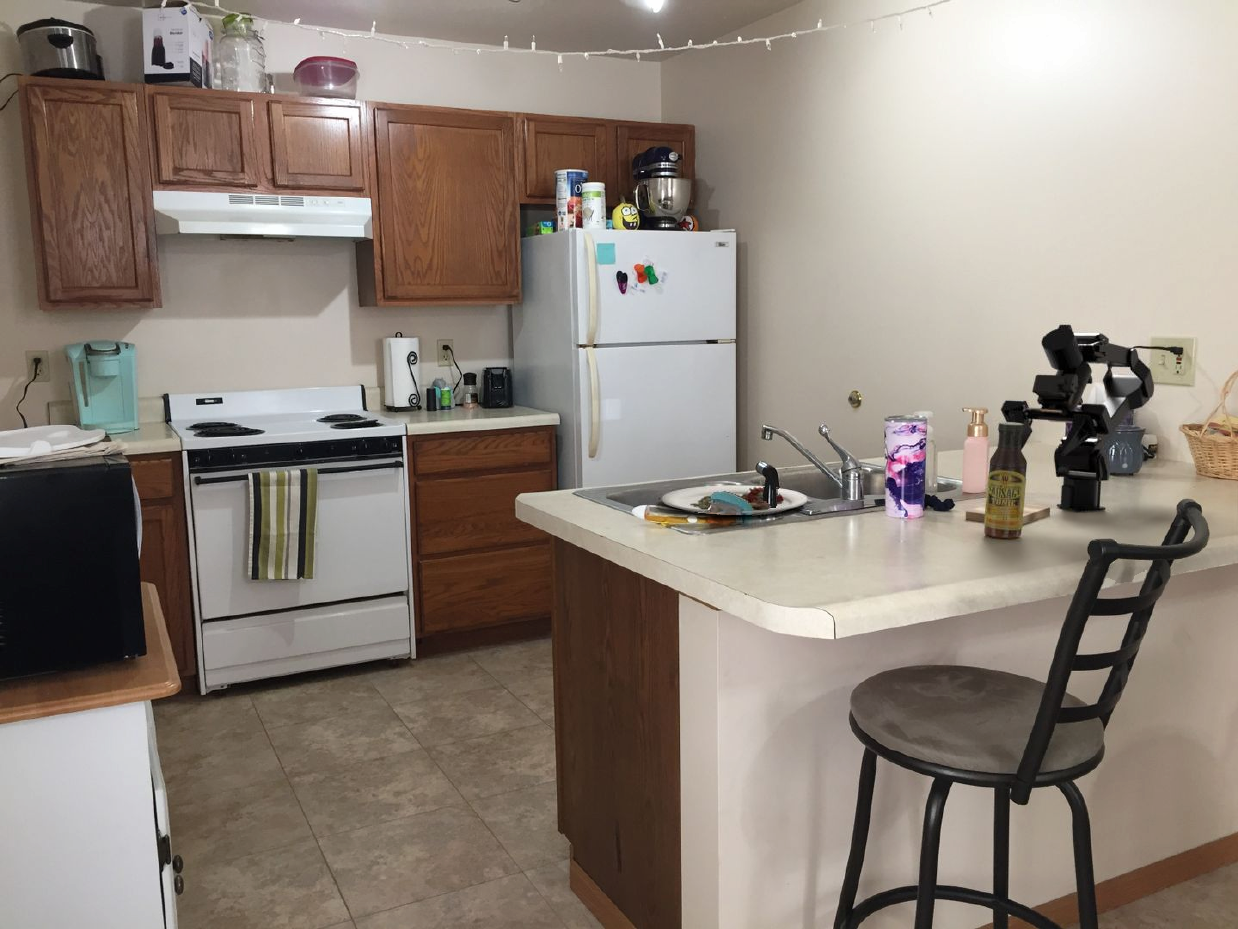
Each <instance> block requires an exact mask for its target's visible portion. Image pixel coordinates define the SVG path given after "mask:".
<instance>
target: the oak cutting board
mask: <svg viewBox="0 0 1238 929" xmlns="http://www.w3.org/2000/svg"><path fill="white" fill-rule="evenodd" d="M985 507H986V504H985V505H982V506H979V507H976V508H972V509H969V510H966V511H965V519H966V520H969V521H977V522H983V523H984V520H985ZM1048 516H1051V507H1050V506H1043V505H1035V504H1025V503H1024V511H1023V524H1022V525H1025V524H1028V523H1031V522H1034V521H1037V520H1039V519H1043V518H1045V517H1048Z"/></svg>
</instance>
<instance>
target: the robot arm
mask: <svg viewBox="0 0 1238 929" xmlns="http://www.w3.org/2000/svg"><path fill="white" fill-rule="evenodd" d="M1041 346H1042V348H1043V352H1044V353H1045V355H1046V358H1047V360H1048V362H1049V364H1050V367H1051V368H1052V369H1054V370H1057V371H1056V373H1055V374H1036V375H1035V377H1034V382H1033V387H1032V392H1031V393H1032V394H1035V395H1037V396H1038V397H1037V399H1036V401H1037V404H1038V405H1041V407H1030V406H1029V403H1028V402H1027V400H1019V399H1018V400H1017V399H1007V400H1005V401H1004V402H1003V403H1002V406H1001V408H1000V411H1001V414H1002V415H1003V417H1004V419H1005V422H1014V423H1021V424H1024V431H1023V433H1022V441H1021V446H1022V448H1021V451H1022V450H1023V448H1024V447H1025V445H1026V444H1027V442H1028V440H1029V438H1030V437H1031V434H1032V433H1033V429H1032V424H1033V422H1034V421H1033V420H1041V421H1048V422H1051V423H1064V424H1065V423H1067V424H1069V423H1070V424H1071V428H1069V430H1068V431H1067V432H1066V433H1065V435H1064V436H1063V437H1062V438H1061V439H1060V443H1059V445H1058V446H1057V447H1056V448H1055V450H1054V453H1053V462H1054V469H1055V470H1054V471H1055V476H1056V478H1063V481H1062V483H1063V484H1062V485H1061V492H1060V493H1061V494H1060V503H1057V504H1056V508H1061V509H1064V510H1065V509H1066V510H1068V511H1073V512H1076V513H1080V512H1081V513H1082V512H1083V513H1085V512H1095V511H1106V508H1107V507H1105V506H1101V491H1102V490H1101V488H1102V482H1103V481H1109V480H1110V476H1111V470H1112V468H1111V466H1110V462H1109V461H1108V458H1107V456H1106V453H1105V448H1104V447H1105V445H1106V444H1107V442H1108V441H1109V440H1110V438H1111V437H1112V435H1113V434H1114V433H1115V432H1116V430H1117V429H1118V427H1119V425H1121V423H1122V422H1123V420H1125V417H1126V416H1127V415H1128V413H1129V412H1131V411H1135V410H1137V409H1140V408H1143V407H1144V406H1145V405H1146V404H1147V403H1148V402H1149V401H1150V400H1151V398H1152V397H1153V395H1154V392H1155V384H1154V379H1153V376H1152V375H1153V374H1152V372H1151V369H1150V368H1149V367H1148V366H1147V365H1146V363H1144V362H1143V361H1142V360H1141V359H1140V358H1139V352H1138V350H1137V349H1136V348H1133V347H1127V346H1122V345H1119V344H1115V343H1111V342H1110V339H1109V337H1108V336H1106V335H1105V334H1103V333H1098V332H1096V333H1088V332H1087V333H1085V332H1084V333H1082V332H1081V333H1074V331H1073V328H1072V325H1071V324H1070V323H1069V324H1059V325H1058V328H1056V329H1052V330H1051V331H1049V332H1047V333H1046V334H1045V335H1044V336H1042V338H1041ZM1091 364H1094V365H1095V364H1103V365H1106V366H1107V370H1106V373H1105V374H1104V376H1103V378H1102V382H1103V386H1104V391H1105V394H1106V398H1105V400H1104V401H1103V402H1102V403H1084V399H1083V398H1082V396H1083V394H1084V391H1085V389H1086V386H1087V385H1089V384H1090V385H1092V384H1093V377H1092V373H1093V370H1092V367H1091V366H1090V365H1091ZM1112 368H1129V369H1130V371H1131V372H1132V373H1133V374H1113V371H1112ZM1078 406H1080V411H1078V410H1077V408H1078ZM1076 410H1077V411H1076Z"/></svg>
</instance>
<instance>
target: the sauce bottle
mask: <svg viewBox="0 0 1238 929" xmlns="http://www.w3.org/2000/svg"><path fill="white" fill-rule="evenodd" d="M997 430H998V443H997V448H996V449H995V451H994V453H993V455H992V456H991V458H990V459H989V469H988V470H989V471H988V475H987V484H986V497H985V505H986V507H985V520H984V522H983V524H984V528H983V532H984V534H985V535H986V536H988V537H993V538H996V539H1012V540H1013V539H1016V538H1020V537H1021V535H1022V529H1023V525H1024V524H1023V511H1024V504H1025V499H1026V498H1025V496H1026V487H1027V485H1026V484H1027V469H1028V466H1027V465H1028V461H1027V459H1026V457H1025V455H1024V454H1023V451H1022V450H1021V448H1022V446H1021V441H1022V433H1023V431H1024V424H1021V423H1014V422H1006V421H1003V422H1002V421H1001V422H999V423H998V428H997Z"/></svg>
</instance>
